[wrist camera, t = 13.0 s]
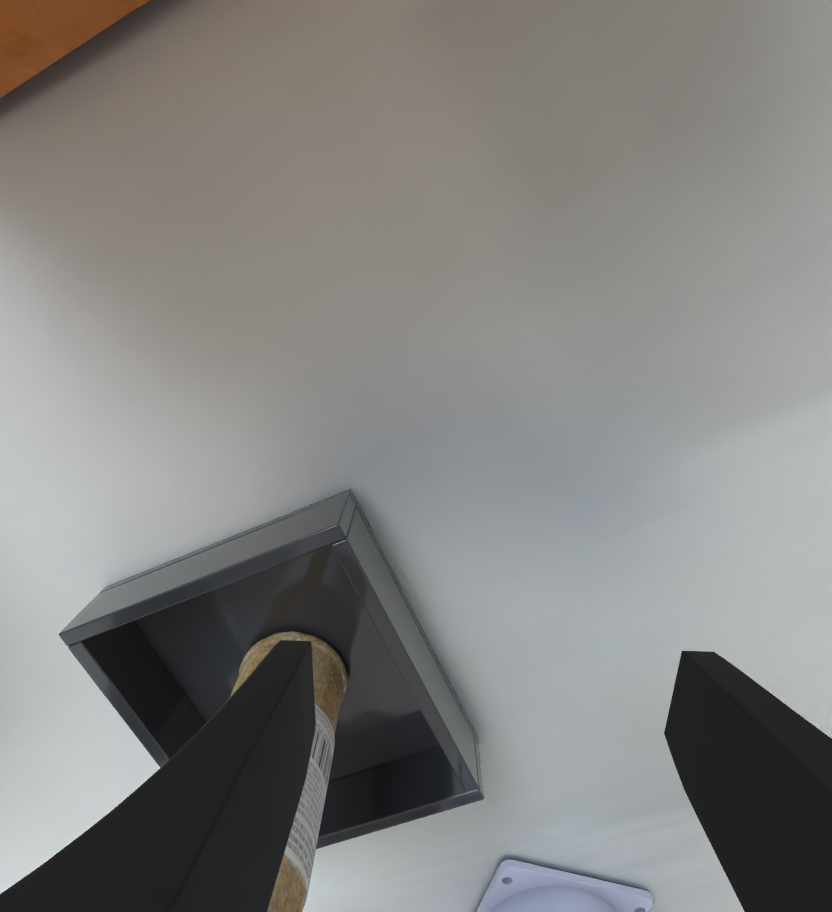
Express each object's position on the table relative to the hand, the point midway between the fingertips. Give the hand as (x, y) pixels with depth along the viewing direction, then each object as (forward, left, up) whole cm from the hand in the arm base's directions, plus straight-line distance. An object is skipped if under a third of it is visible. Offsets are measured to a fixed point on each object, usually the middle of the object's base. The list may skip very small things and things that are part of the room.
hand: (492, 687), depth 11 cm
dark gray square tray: (-10, +4, -10) cm, 15 cm away
